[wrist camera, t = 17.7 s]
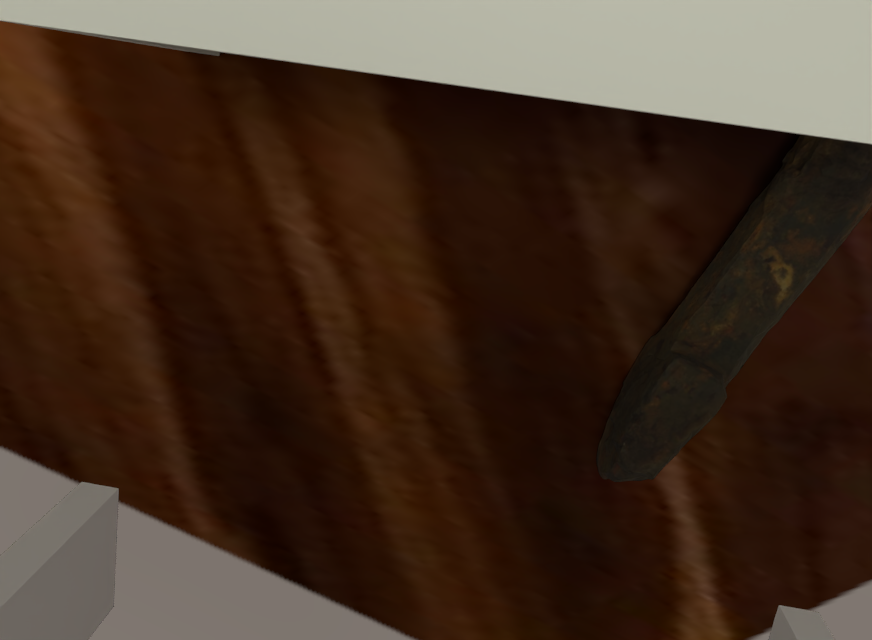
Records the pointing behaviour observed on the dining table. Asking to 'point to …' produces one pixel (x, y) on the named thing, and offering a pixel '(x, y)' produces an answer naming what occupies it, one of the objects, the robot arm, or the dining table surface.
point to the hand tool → (736, 304)
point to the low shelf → (541, 49)
